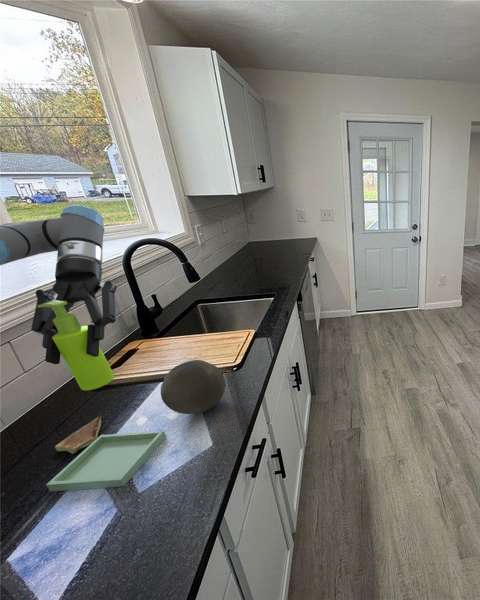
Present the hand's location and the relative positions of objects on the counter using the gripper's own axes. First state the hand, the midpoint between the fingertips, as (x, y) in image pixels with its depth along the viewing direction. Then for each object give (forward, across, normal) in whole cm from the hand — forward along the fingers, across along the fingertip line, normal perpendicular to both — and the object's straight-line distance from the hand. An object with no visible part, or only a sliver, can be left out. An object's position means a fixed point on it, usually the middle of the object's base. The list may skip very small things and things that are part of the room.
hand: (72, 358), depth 65 cm
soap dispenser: (+3, 0, +9) cm, 9 cm away
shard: (+12, -12, +25) cm, 30 cm away
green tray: (+21, 0, +16) cm, 26 cm away
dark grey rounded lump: (+13, +16, +24) cm, 32 cm away
